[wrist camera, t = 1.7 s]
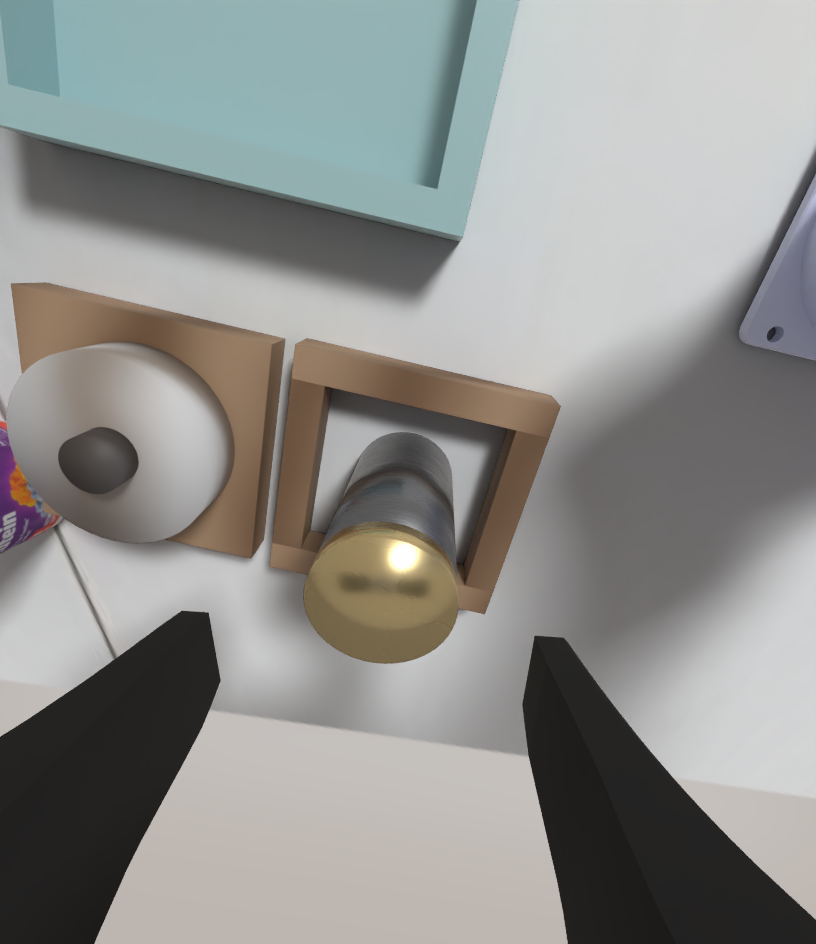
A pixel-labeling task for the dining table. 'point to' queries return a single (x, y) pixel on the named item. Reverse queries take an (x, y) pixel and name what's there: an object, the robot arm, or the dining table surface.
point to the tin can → (389, 556)
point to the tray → (271, 94)
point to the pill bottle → (18, 501)
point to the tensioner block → (225, 428)
